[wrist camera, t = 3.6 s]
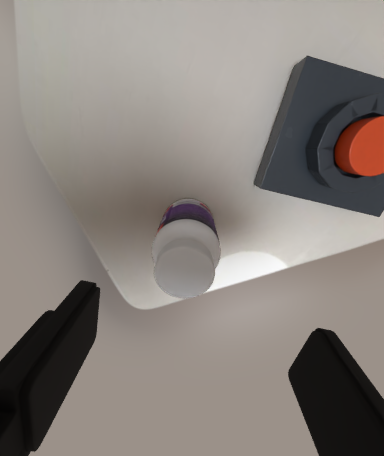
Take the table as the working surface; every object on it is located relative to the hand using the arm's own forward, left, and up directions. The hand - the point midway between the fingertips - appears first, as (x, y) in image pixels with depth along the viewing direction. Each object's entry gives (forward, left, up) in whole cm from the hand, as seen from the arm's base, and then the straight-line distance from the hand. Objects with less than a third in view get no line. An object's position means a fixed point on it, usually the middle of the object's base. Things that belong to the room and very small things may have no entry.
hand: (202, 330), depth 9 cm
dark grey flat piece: (+11, +10, -14) cm, 20 cm away
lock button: (+11, +10, -11) cm, 18 cm away
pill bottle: (-1, -1, -15) cm, 15 cm away
